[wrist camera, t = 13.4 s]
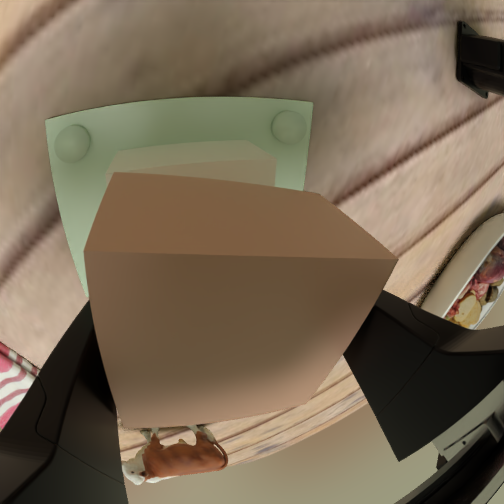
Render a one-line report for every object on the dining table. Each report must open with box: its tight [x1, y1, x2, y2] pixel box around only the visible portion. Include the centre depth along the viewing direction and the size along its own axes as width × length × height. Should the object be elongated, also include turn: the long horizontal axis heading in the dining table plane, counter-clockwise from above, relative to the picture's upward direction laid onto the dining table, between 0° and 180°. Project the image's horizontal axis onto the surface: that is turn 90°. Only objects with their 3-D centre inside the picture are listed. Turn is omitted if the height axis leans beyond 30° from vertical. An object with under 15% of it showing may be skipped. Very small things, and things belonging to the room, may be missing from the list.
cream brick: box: [105, 140, 277, 187], centre depth 13 cm, size 6×6×4 cm
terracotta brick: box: [83, 172, 399, 428], centre depth 8 cm, size 6×6×4 cm
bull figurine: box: [121, 425, 228, 485], centre depth 26 cm, size 4×13×8 cm, turn 73°
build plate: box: [45, 97, 313, 297], centre depth 15 cm, size 14×11×1 cm
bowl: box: [421, 213, 504, 330], centre depth 34 cm, size 30×30×8 cm
